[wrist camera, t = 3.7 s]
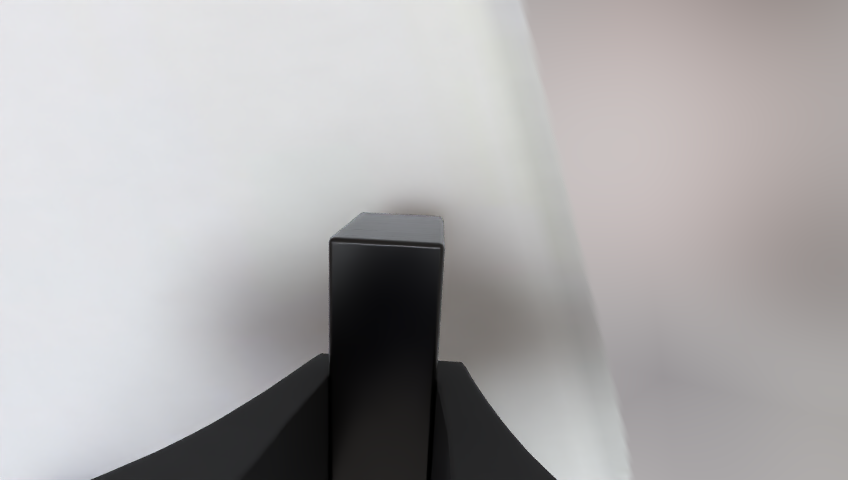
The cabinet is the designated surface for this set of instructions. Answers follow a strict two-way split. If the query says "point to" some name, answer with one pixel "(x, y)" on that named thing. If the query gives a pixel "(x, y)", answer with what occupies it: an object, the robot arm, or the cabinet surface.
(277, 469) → the robot arm
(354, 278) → the knife
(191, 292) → the cabinet surface
